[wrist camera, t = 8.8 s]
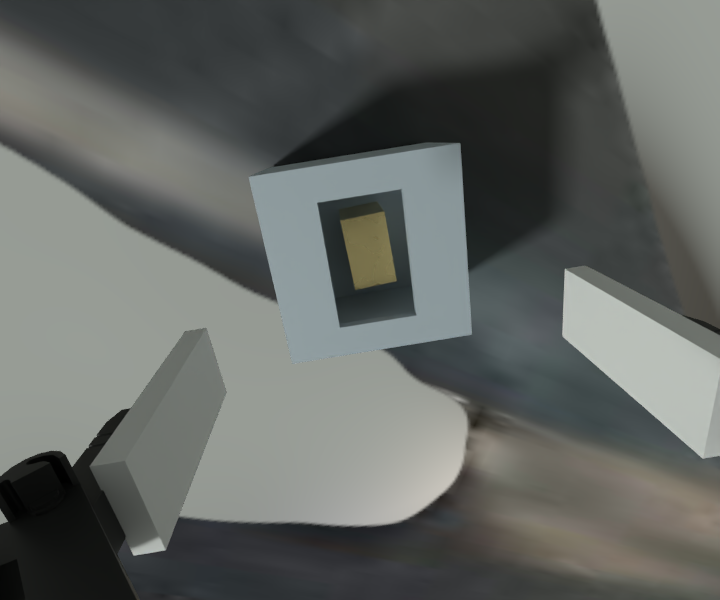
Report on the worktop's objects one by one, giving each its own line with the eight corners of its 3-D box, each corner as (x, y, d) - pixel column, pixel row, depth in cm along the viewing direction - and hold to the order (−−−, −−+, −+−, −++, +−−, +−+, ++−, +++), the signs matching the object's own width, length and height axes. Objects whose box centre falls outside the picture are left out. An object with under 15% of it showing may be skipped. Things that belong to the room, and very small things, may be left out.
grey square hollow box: (270, 167, 32) (248, 176, 24) (426, 142, 32) (460, 143, 24) (301, 312, 36) (292, 363, 28) (439, 289, 37) (471, 334, 28)
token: (338, 209, 33) (340, 220, 28) (376, 201, 33) (384, 211, 28) (351, 269, 35) (355, 289, 30) (387, 262, 35) (396, 281, 30)
